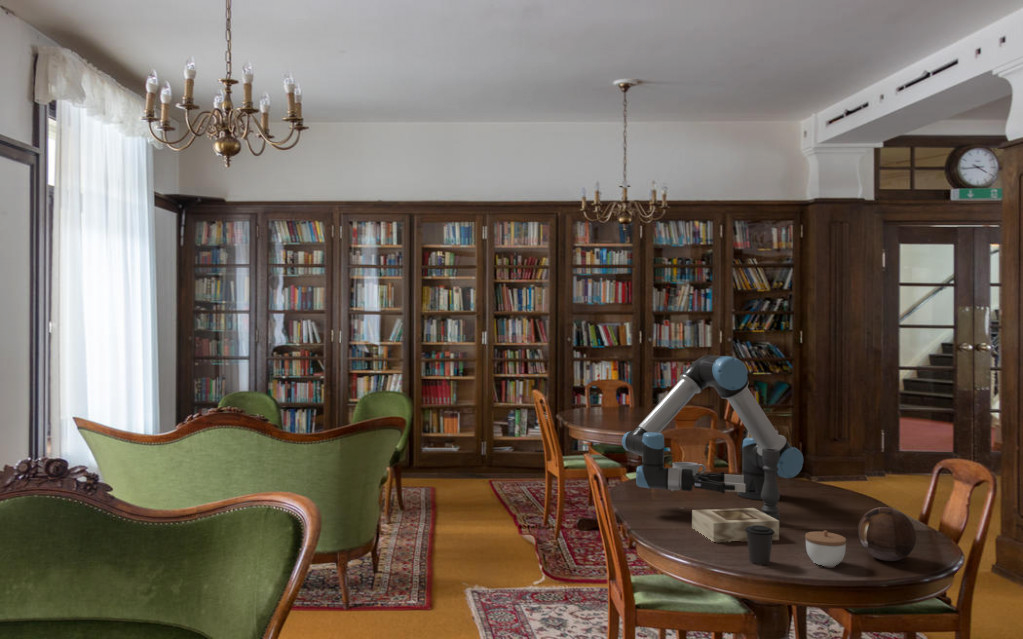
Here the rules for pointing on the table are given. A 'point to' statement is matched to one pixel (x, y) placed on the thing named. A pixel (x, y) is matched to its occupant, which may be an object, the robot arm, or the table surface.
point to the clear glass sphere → (886, 534)
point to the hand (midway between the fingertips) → (744, 483)
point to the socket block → (731, 523)
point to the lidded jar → (825, 547)
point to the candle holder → (770, 483)
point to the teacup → (689, 466)
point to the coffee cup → (759, 543)
